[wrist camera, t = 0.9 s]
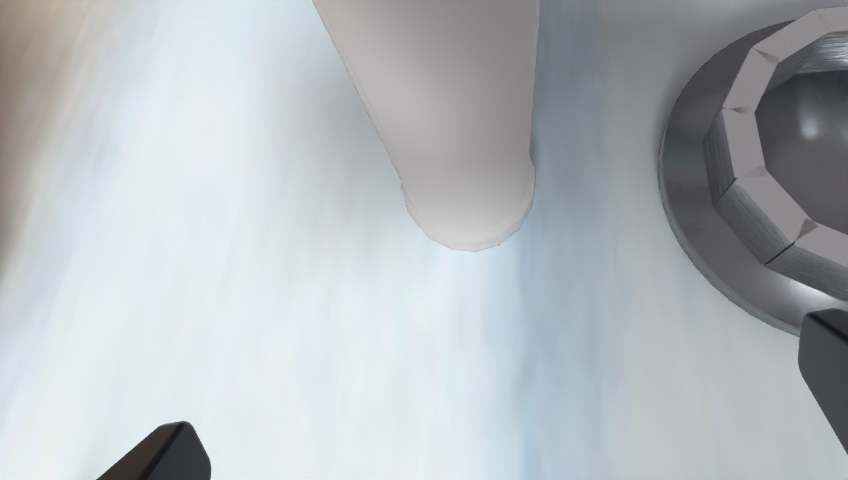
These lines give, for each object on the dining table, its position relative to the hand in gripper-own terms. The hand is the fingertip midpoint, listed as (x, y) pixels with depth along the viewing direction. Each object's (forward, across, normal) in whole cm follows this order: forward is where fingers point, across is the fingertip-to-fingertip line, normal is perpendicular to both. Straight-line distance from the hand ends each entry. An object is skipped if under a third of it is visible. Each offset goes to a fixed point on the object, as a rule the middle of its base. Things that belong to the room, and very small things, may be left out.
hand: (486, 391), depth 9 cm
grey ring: (+15, -14, +5) cm, 21 cm away
